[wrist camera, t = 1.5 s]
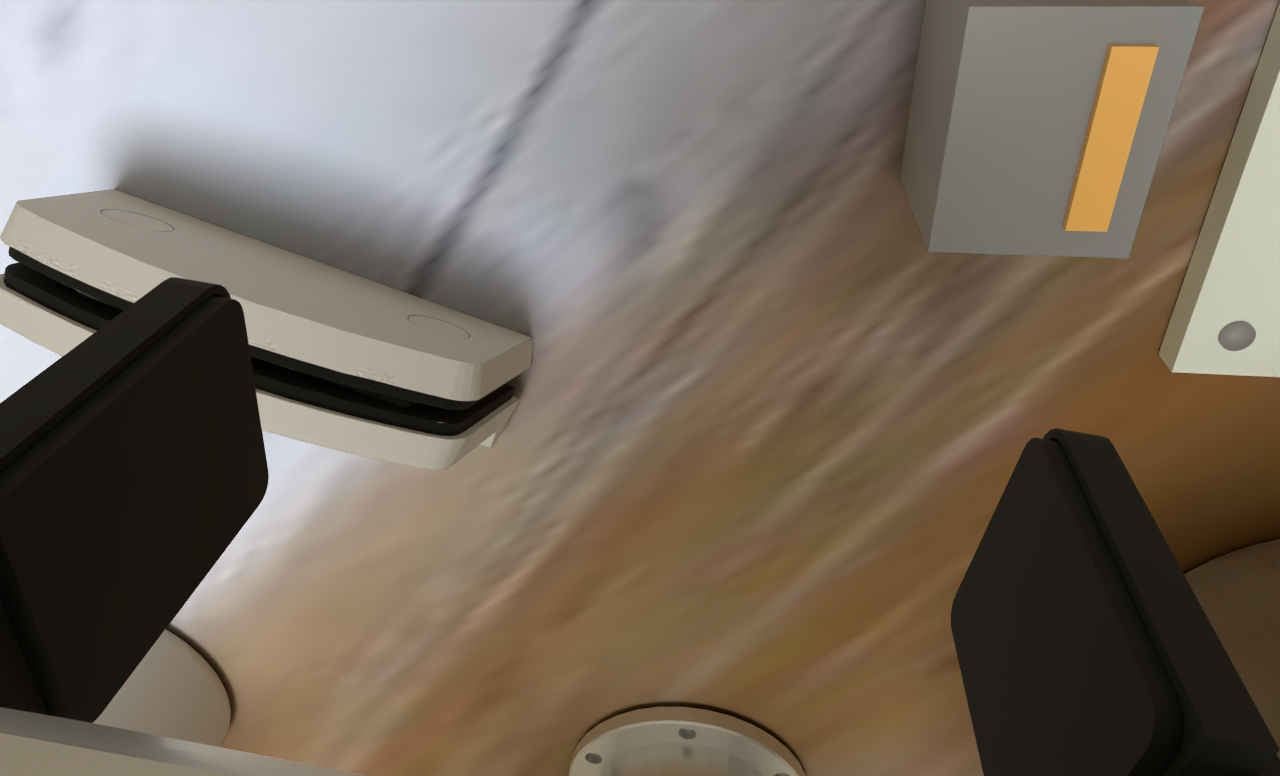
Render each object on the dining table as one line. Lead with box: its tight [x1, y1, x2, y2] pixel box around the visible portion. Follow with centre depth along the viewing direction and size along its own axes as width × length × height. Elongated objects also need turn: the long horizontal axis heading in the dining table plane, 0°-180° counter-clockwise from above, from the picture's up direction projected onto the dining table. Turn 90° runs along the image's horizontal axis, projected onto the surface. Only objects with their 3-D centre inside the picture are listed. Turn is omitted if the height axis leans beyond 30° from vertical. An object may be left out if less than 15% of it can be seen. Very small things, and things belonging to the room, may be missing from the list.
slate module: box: [900, 0, 1204, 258], centre depth 23 cm, size 6×5×6 cm
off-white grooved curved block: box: [0, 189, 533, 470], centre depth 30 cm, size 17×5×10 cm, turn 72°
